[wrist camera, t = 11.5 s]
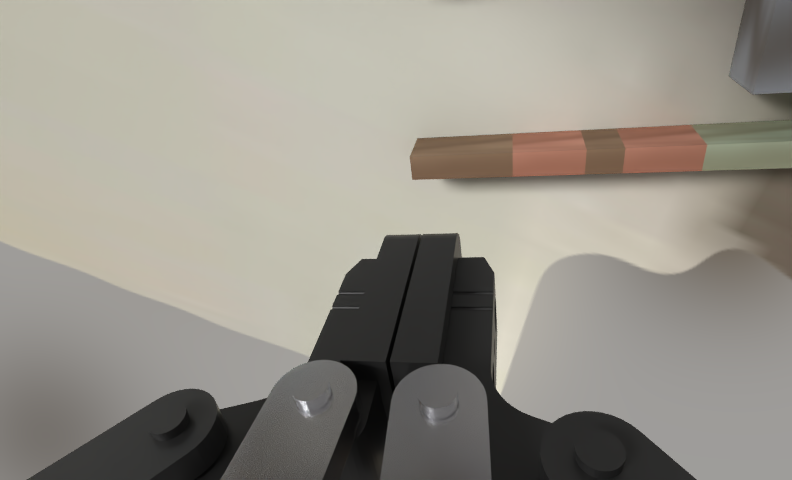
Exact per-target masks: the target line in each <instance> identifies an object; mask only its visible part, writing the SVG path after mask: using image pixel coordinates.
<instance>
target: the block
mask: <svg viewBox="0 0 792 480" xmlns="http://www.w3.org/2000/svg"><path fill="white" fill-rule="evenodd" d="M729 77H731V78H732V79H733V80H734V81H736V82H737V83H738V84H740V85H741V86H742V87H744V88H745V89H746V90H747V91H749V92H750V93H751V94H771V93H790V92H792V0H746V2H745V7H744V11H743V16H742V20H741V24H740V29H739V33H738V38H737V42H736V47H735V51H734V55H733V60H732V64H731V69H730V73H729Z"/></svg>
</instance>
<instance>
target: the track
mask: <svg viewBox="0 0 792 480" xmlns="http://www.w3.org/2000/svg"><path fill="white" fill-rule="evenodd" d="M410 162H411V171H412V179H413V180H418V179H451V178H484V177H516V176H549V175H582V174H615V173H647V172H680V171H713V170H745V169H778V168H792V120H781V121H761V122H741V123H720V124H700V125H680V126H660V127H640V128H619V129H599V130H579V131H559V132H538V133H518V134H498V135H478V136H458V137H437V138H418V139H417V141H416V144H415V146H414V148H413V151H412V153H411V155H410Z"/></svg>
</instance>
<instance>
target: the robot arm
mask: <svg viewBox="0 0 792 480" xmlns="http://www.w3.org/2000/svg"><path fill="white" fill-rule="evenodd" d="M496 359H497V318H496V298H495V278H494V272H493V270H492V269H491V267H490V266H489V264H488V263H487V261H486V259H485V258H484V257H472V258H462V256H461V245H460V237H459V234H458V233H452V234H423V235H421V234H418V235H387V236H385V238H384V241H383V243H382V246H381V249H380V252H379V254H378V257H377V259H362V260H361V261H360V262H359V263H357V264H356V265H355V266H354V267H353V268H352V269H351V270H350V271H349V272H348V273H347V274H346V276H345V278H344V280H343V283H342V285H341V287H340V290H339V295H337V296H336V299H335V301H334V303H333V309H332V310H330V313H329V315H328V317H327V320H326V322H325V324H324V326H323V329H322V331H321V333H320V336H319V338H318V340H317V343H316V345H315V347H314V350H313V352H312V354H311V356H310V359H309V361H308V362H307V363H304V364H302V365H299V366H297V367H295V368H293V369H292V370H290V371H289V372H288V373H286V374H285V375H284V376H283V377H282V378H281V379H280V380H279V381H278V382H277V383H276V384H275V386H274V387H273V389H272V390H271V393H270V394H269V396H268V397H267V398H265V399H262V400H258V401H254V402H250V403H246V404H241V405H237V406H233V407H228V408H224V409H220V410H219V408H218V406H217V404H216V402H215V400H214V398H213V397H212V396H211V395H210V394H209V393H207V392H205V391H203V390H199V389H184V390H179V391H176V392H172V393H170V394H167V395H165V396H163V397H161V398H159V399H157V400H156V401H154V402H152V403H151V404H149V405H148V406H146V407H144V408H143V409H141V410H139V411H138V412H136V413H134V414H133V415H131V416H130V417H128V418H126V419H125V420H123V421H121V422H120V423H118V424H117V425H115V426H113V427H112V428H110V429H109V430H107V431H105V432H104V433H102V434H100V435H99V436H97V437H95V438H94V439H92V440H91V441H89V442H88V443H86V444H84V445H83V446H81V447H79V448H78V449H76V450H74V451H73V452H71V453H70V454H68V455H66V456H65V457H63V458H61V459H60V460H58V461H57V462H55V463H53V464H52V465H50V466H48V467H47V468H45V469H44V470H42V471H40V472H39V473H37V474H35V475H34V476H32V477H31V478H29V479H27V480H696V479H695V478H694V477H693V476H692V475H691V474H689V473H688V472H687V471H686V470H685V469H683V468H682V467H681V466H680V465H679V464H678V463H676V462H675V461H674V460H673V459H672V458H671V457H669V456H668V455H667V454H666V453H665V452H664V451H662V450H661V449H660V448H659V447H658V446H656V445H655V444H654V443H653V442H652V441H651V440H649V439H648V438H647V437H646V436H645V435H644V434H642V433H641V432H640V431H639V430H638V429H636V428H635V427H633V426H632V425H631V424H629V423H627V422H625V421H624V420H622V419H619V418H617V417H615V416H612V415H609V414H605V413H599V412H592V411H583V412H575V413H571V414H568V415H565V416H563V417H561V418H559V419H558V420H556V421H555V422H553V423H550V422H547V421H544V420H541V419H538V418H535V417H532V416H530V415H527V414H525V413H523V412H521V411H519V410H517V409H515V408H514V407H512V406H511V405H510V404H508V403H507V402H506V401H505V400H504V399H503V398H502V397H501V396H500V394H499V393H498V391H497V390H496Z"/></svg>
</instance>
